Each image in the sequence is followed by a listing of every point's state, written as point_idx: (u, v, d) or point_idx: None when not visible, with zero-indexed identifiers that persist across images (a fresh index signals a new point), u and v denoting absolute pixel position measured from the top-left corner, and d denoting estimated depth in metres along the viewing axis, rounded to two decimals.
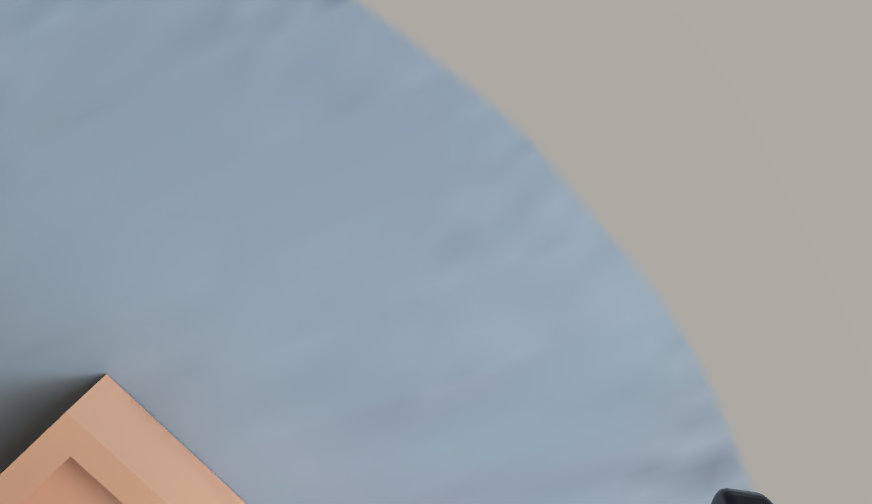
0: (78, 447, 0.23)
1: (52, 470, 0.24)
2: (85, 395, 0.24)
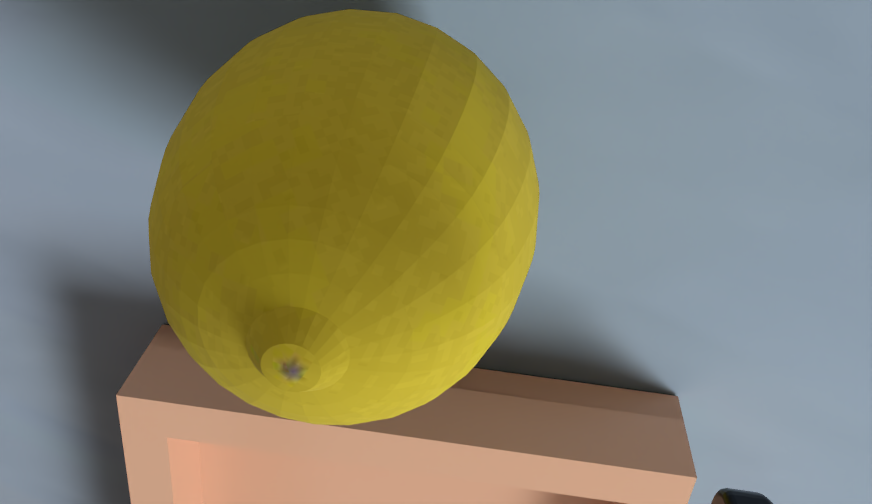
0: None
1: (599, 496, 0.17)
2: (687, 441, 0.17)
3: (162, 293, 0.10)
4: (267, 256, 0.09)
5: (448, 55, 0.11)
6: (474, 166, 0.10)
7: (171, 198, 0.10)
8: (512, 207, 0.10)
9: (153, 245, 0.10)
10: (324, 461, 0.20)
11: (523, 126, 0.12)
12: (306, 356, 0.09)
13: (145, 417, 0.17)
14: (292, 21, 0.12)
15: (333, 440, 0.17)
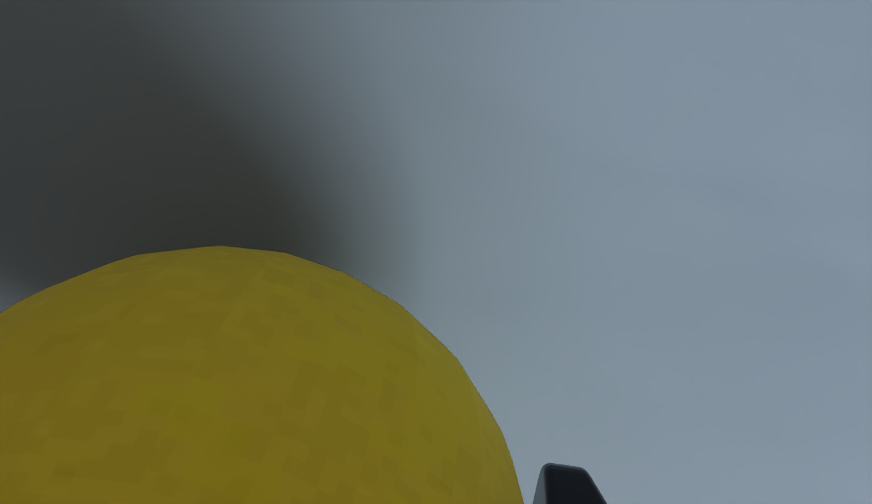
0: None
1: None
2: None
3: None
4: None
5: (343, 419, 0.05)
6: None
7: None
8: None
9: None
10: None
11: (511, 496, 0.06)
12: None
13: None
14: (37, 307, 0.06)
15: None
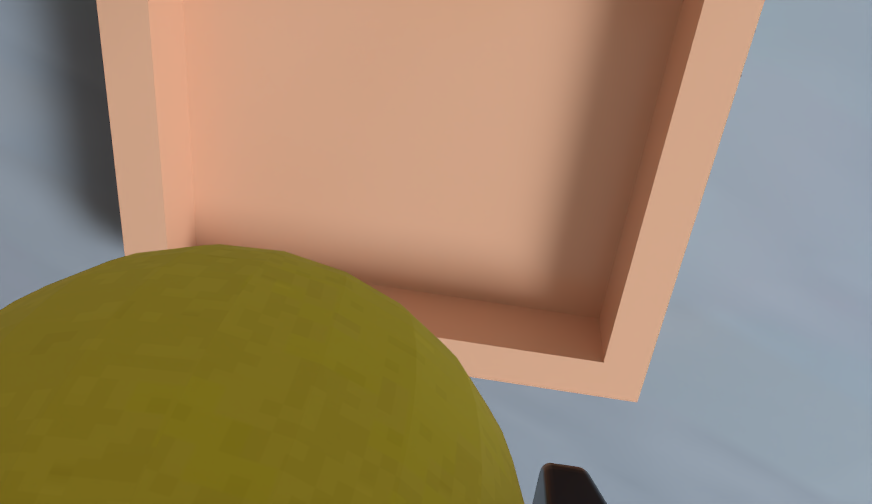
0: None
1: None
2: None
3: None
4: None
5: (344, 417, 0.05)
6: None
7: None
8: None
9: None
10: None
11: (511, 496, 0.06)
12: None
13: None
14: (35, 305, 0.06)
15: None
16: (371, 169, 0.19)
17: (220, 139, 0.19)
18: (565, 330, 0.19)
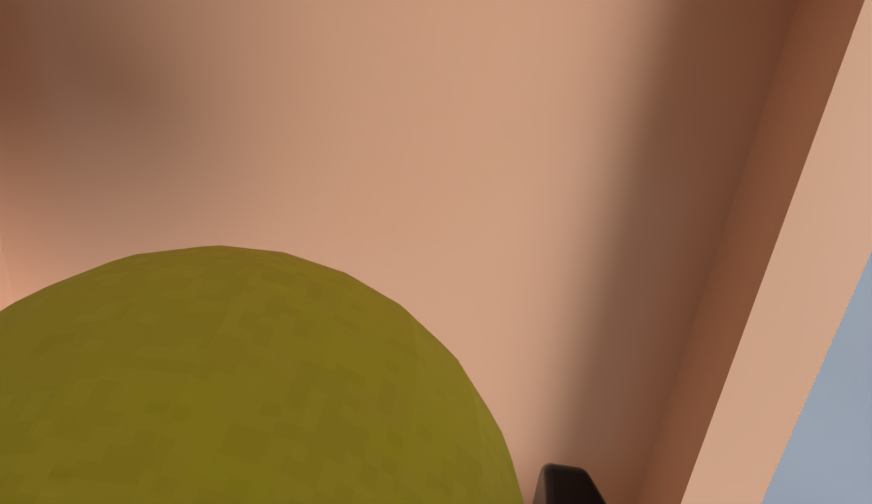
0: None
1: None
2: None
3: None
4: None
5: (344, 420, 0.05)
6: None
7: None
8: None
9: None
10: None
11: (511, 497, 0.06)
12: None
13: None
14: (35, 307, 0.06)
15: None
16: None
17: None
18: None
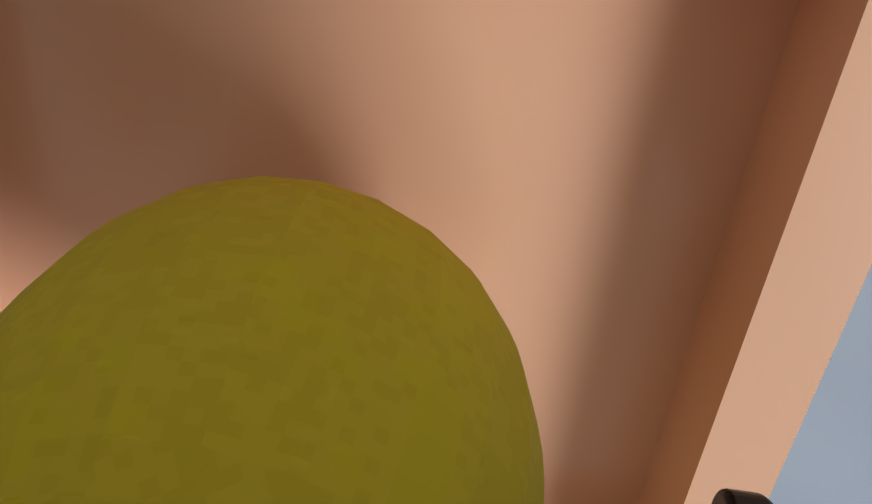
0: None
1: None
2: None
3: None
4: None
5: (389, 293, 0.06)
6: None
7: None
8: None
9: None
10: (184, 9, 0.10)
11: (517, 369, 0.08)
12: None
13: None
14: (137, 216, 0.07)
15: None
16: None
17: None
18: None
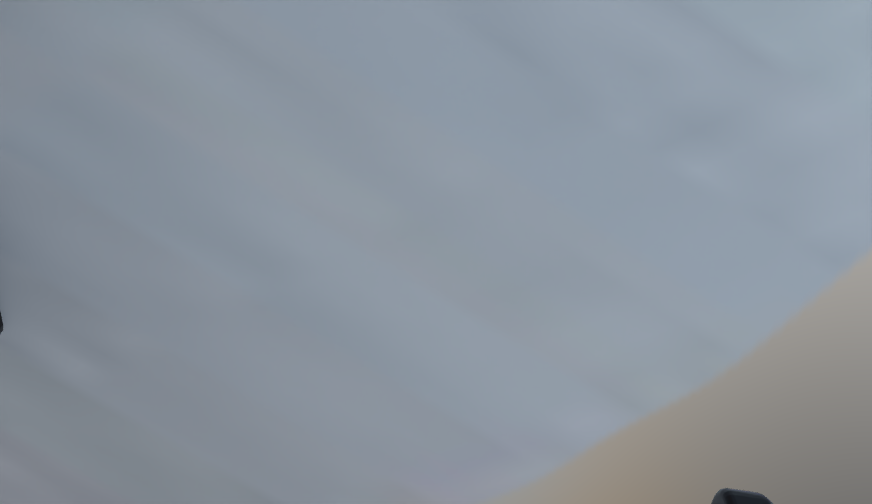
0: None
1: None
2: None
3: None
4: None
5: None
6: None
7: None
8: None
9: None
10: None
11: None
12: None
13: None
14: None
15: None
16: None
17: None
18: None
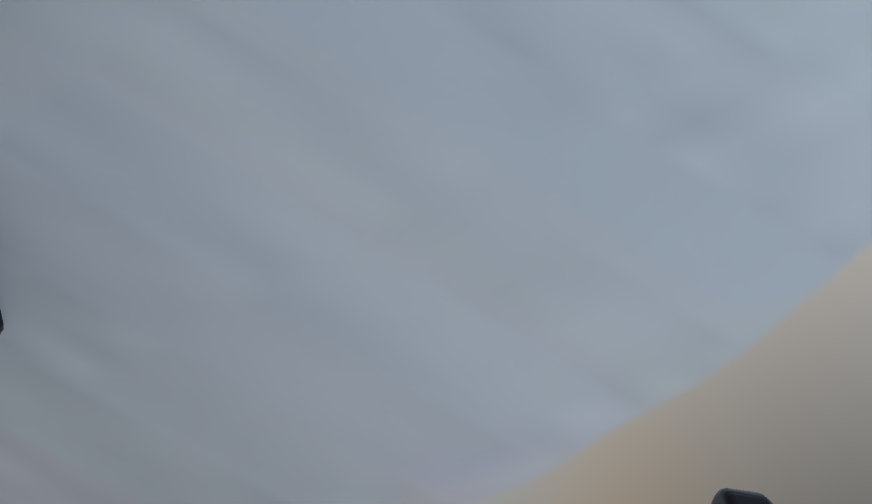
0: None
1: None
2: None
3: None
4: None
5: None
6: None
7: None
8: None
9: None
10: None
11: None
12: None
13: None
14: None
15: None
16: None
17: None
18: None
